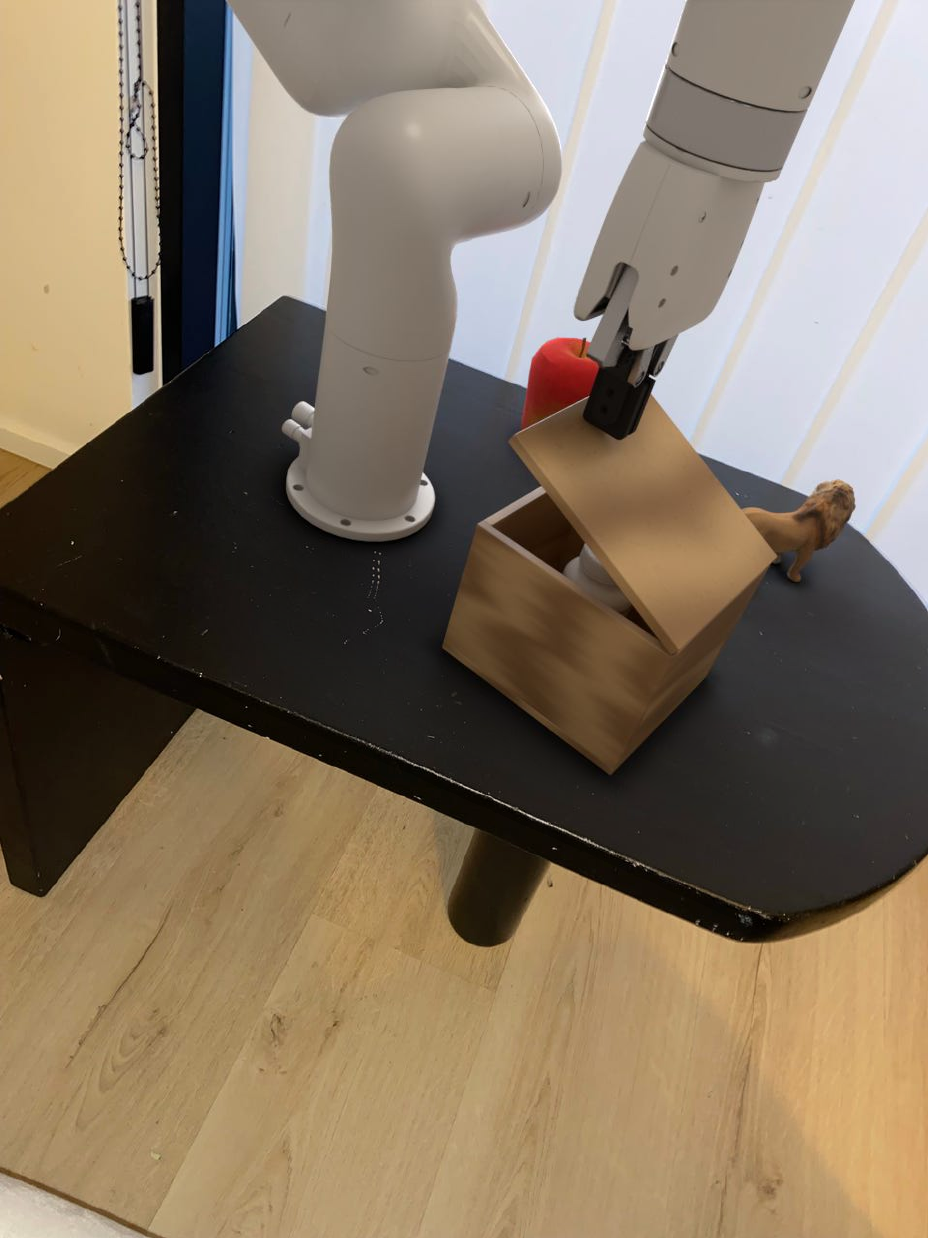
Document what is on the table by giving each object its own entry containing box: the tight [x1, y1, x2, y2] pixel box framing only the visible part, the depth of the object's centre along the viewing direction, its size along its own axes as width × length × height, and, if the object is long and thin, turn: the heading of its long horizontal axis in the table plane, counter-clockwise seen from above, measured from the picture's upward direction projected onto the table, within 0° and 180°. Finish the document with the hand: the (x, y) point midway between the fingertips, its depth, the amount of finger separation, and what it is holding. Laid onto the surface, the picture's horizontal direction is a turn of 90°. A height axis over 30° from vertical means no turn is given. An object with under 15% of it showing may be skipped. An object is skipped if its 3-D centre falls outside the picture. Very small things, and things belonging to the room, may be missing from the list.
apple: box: [520, 336, 599, 431], centre depth 89 cm, size 9×8×12 cm
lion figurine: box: [740, 478, 856, 583], centre depth 83 cm, size 15×5×9 cm, turn 116°
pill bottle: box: [562, 543, 632, 618], centre depth 68 cm, size 5×5×10 cm
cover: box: [507, 393, 777, 655], centre depth 61 cm, size 16×14×1 cm
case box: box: [441, 485, 771, 776], centre depth 68 cm, size 15×14×12 cm
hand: (607, 425), depth 61 cm, fingers closed
